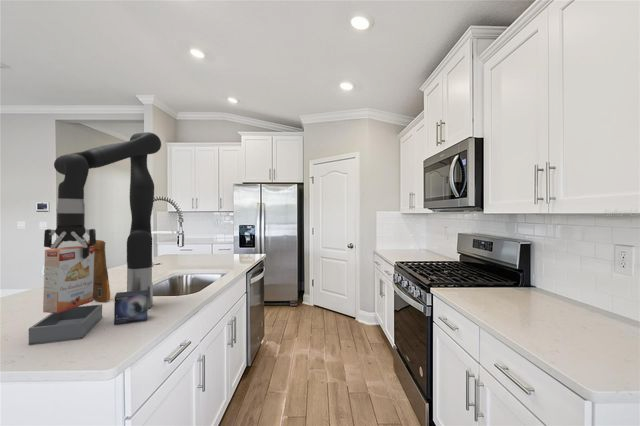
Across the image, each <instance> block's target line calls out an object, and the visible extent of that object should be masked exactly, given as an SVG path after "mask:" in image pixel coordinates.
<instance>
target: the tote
mask: <svg viewBox="0 0 640 426" xmlns="http://www.w3.org/2000/svg"><path fill="white" fill-rule="evenodd" d="M102 318H103V304H92V305H81V306H78V307H75V308H72V309H69V310H66V311H63V312H60V313H49V314H48V315H46V316H45V317H43V318H42V319H41V320H39V321H38V322H36V323H35V324H33V325H32V326H30V327H29V328H28V345H29V346H30V345H38V344H47V343H54V342H55V343H56V342H63V341H72V340H74V341H75V340H82V339H84V337H86V335H87V334H88V333H89V332H90V331H91V330H92V329H93V328H94V327H95V326H96V325H97V324H98V322H99V321H100V320H101V319H102Z"/></svg>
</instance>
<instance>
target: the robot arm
mask: <svg viewBox="0 0 640 426" xmlns="http://www.w3.org/2000/svg"><path fill="white" fill-rule="evenodd" d="M161 148H162V141H161V139H160V137H159V136H158V135H157V134H155V133H153V132H139V133H134V134H133V135H131V137H130V139H129V140H128V141H127V140H126V141H122V142H118V143H111V144H110V143H109V144H105V145H101V146H97V147H93V148H89V149H87V150H86V149H85V150H83V151H78V152H72V153H68V154H64V155H60V156H58V157H57V158H56V159H55V160H54V162H53V167H54V169H55V171H56V172H57V173H58V174H61V175H63V176H64V178H63V181H61V182H60V183H59V184H58V189H57V205H56V229H51V228H47V229H44V236H43V238H44V239H43V247H44V248H48V249H55V248H59V246H61V244H62V243H63V242H78V243H79V244H80V246H83V247H84V248H83V259H86V258H87V257H88V256H89V248H90V247H91V246H93V245H95V244H96V240H97V237H96V233H97V232H96V231H97V230H96V229H95V228H90V229H88V228H87V229H86V227H85V226H86V225H85V217H86V215H85V214H86V211H85V209H86V208H85V207H86V206H85V186H86V183H87V181H88V180H87V178H88V176H89V171H90V169H97V168H101V167H102V168H103V167H104V166H108V165H110V164H111V165H112V164H115V163H116V162H117V163H118V162H120V161H123V160H126V159H130V180H129V181H130V183H129V207H130V214H131V224H130V230H129V235H128V236H127V239H126V265H127V266H126V268H127V269H126V270H127V271H126V292H130V291H141V290H148V295H147V309H151V308H152V306H153V304H154V303H153V302H154V301H153V299H154V297H153V294H154V292H153V291H154V288H153V287H154V286H153V235H152V225H151V224H152V223H151V220H152V214H153V208H154V201H155V184H154V180H153V178H152V176H151V174H150V171H149V169H148V155H154V154H156V153H159V151H160V150H161ZM55 234H56V235H57V236H58V237H57V238H56V239H55V241H53V236H55ZM85 234H87V235H88V236H89V238H88V241H90V243H88V241H87V239H86V238H85V237H84V235H85Z"/></svg>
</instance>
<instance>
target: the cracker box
mask: <svg viewBox="0 0 640 426" xmlns="http://www.w3.org/2000/svg"><path fill="white" fill-rule="evenodd" d="M83 248H84V247H83V246H82V245H76V246H73V245H72V246H63V247H58V248H55V249H51V248H48V249H45V250H44V266H43V267H44V270H43V273H44V275H43V302H42V303H43V305H42V307H43V308H42V311H43V313H49V314H51V313H60V312H63V311H66V310H69V309H72V308H75V307H78V306H85V305H87V304H90V303H92V302H93V301H94V298H93V278H94V246H91V247H90V248H89V256H88V257H87V258H86V259H83Z"/></svg>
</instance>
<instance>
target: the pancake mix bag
mask: <svg viewBox="0 0 640 426" xmlns="http://www.w3.org/2000/svg"><path fill="white" fill-rule="evenodd" d="M87 242H88V243H90V241H89V240H88V241H87ZM93 246H94V278H93V300H95V301H96V302H98V303H107V302H109V301H110V300H111V290H110V289H111V288H110V280H109V273H108V266H107V258H106V242H105V240H99V239H96V244H95V245H93Z"/></svg>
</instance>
